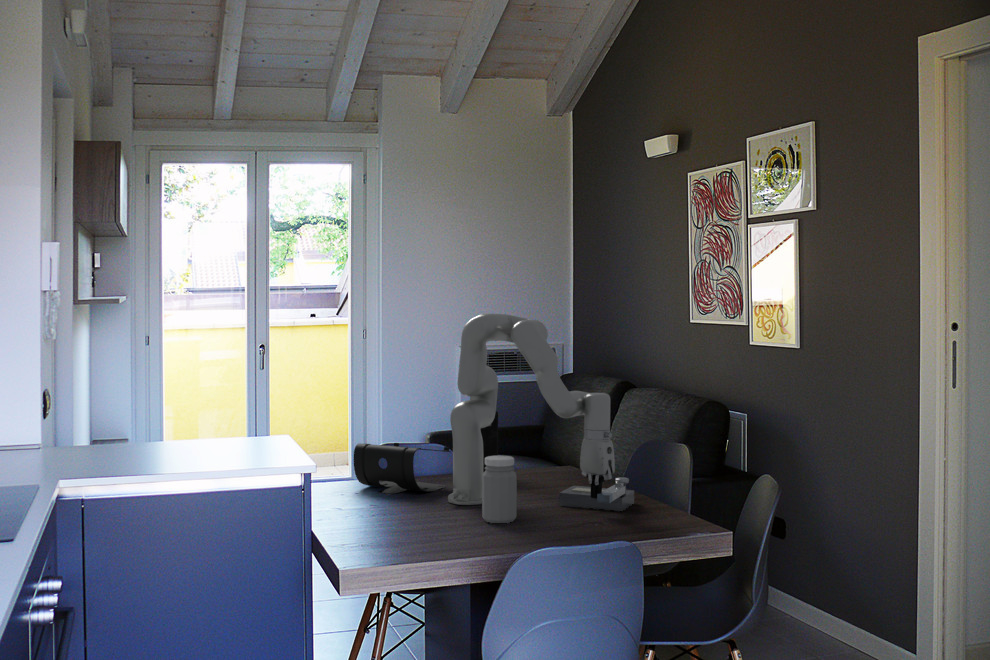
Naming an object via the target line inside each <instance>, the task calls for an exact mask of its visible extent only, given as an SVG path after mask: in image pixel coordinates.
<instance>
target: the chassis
mask: <svg viewBox="0 0 990 660" xmlns="http://www.w3.org/2000/svg"><path fill="white" fill-rule="evenodd" d="M623 486H625V494H623V495H622V496H620V497H618V498H617V499H615V500H614V501H612V502H611V503H601V502H597V498H596V499H595V498H591V486H583V485H582V486H581V485H572V486H570V487H567V488H566V489H563V490H562V491H560V492H559V493H558V506H559V507H569V508H578V507H582V508H581V509H589V508H593V509H592V510H599V509H604V510H603V511H610V510H614V511H613V512H620V511H622V512H623V510H624V511H626V510H627V509H628V508H629V506H630V507H632V506H633V505H634V504H635V490H633V489H632V490H631V489H630V490H629V489H627V483H626V484H623ZM608 488H609V487H607V488H606V487H602V491H604V490H606V489H608ZM632 504H633V505H632ZM626 508H627V509H626Z"/></svg>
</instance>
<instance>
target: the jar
mask: <svg viewBox="0 0 990 660" xmlns="http://www.w3.org/2000/svg"><path fill="white" fill-rule="evenodd" d="M485 465H486V467H485V469H486V470H485V471H484V473H483V474H482V504H481V505H482V506H481V515H482V516H481V517H482V518H483V520H484V521H485V522H486V523H488V522H490V523H489V524H492V523H507V524H511V523H510V522H512V523H513V522H514V521H515V520H516V519H517V512H518V511H517V507H518V506H517V501H518V499H517V497H518V495H517V492H518V490H517V485H518V484H517V481H518V480H517V479H518V478H517V476H518V475H517V473H516V472H515V467H514V465H515V457H513V456H511V455H499V454H498V456H488V457H486V458H485Z"/></svg>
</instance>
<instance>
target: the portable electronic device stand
mask: <svg viewBox="0 0 990 660" xmlns="http://www.w3.org/2000/svg"><path fill="white" fill-rule="evenodd" d="M418 450H420V451H421V450H422V451H433V452H444V453H452V451H450V447H449V446H444V447H443V449H441V450H439V449H432V448H431V449H430V448H429V449H428V448H421V447H408V446H400V443H399V442H394V443H393V445H384V444H382V445H380V444H372V443H361V442H360V443H357V444H356V445H355V447H354V449H353V471H354V475H355V477H356V479H357V480H358V482H359V483H360V484H362V485H364V486H368V487H378V488H384V489H381V490H378V491H377V493H378V494H385V495H397V494H401V493H405V492H407V491H418V492H427V493H432V491H434V492H436V491H435V490H437V491H439V490H438V489H440V490H442V489H441V488H443V489H445V488H447V486H446V485H444V484H439V483H430V482H422V481H416V478H415V472H414V458H415V455H416V454H415V453H416V452H417V451H418ZM381 459H385V461H386V463H387V464H386V467H385V468H383V467H381V466H380V465H379V461H380V460H381ZM380 481H381V482H380ZM444 487H445V488H444Z"/></svg>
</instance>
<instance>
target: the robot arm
mask: <svg viewBox="0 0 990 660" xmlns="http://www.w3.org/2000/svg"><path fill="white" fill-rule="evenodd" d="M548 334H549V332H548V329H547V327H546V325H545V324H544V323H543V322H542V321H539V319H537V320H536V319H531V318H527V317H522V316H515V315H511V314H506V313H483V314H479V315H477V316H474V317H472V318H471V319H469V320H468V321H467V322H466V323H465V325H464V327H463V329H462V333H461V339H460V354H459V355H460V356H459V364H458V373H457V389H458V392H460V394H462V395H463V396H465V397H469V399H467V400H462V401H461V402H458V403H456V405H455V406H454V407H453V408H452V409H451V413H450V419H449V420H450V422H449V423H450V428H451V433H452V493H450V494H448V496H447V502H448V503H450V504H452V505H453V504H454V505H461V506H476V505H482V474H483V439H482V435H481V430H480V429H481V428H485V427H487V426H489V425H490V424H491V423H492V422H493V420H494V417H495V413H496V411H497V402H498V401H497V399H498V394H499V393H498V390H499V379H498V376H497V373H496V371H495V370H494V369H493V368H492V367H490V366H488V365H487V363H488V348H487V343H488V342H493V341H494V342H497V341H502V342H509V343H513V344H514V345H515V347H516V348H517V349H518V351H519V353H520V354H521V355H522V357H523V358H524V360H525V361H526V362H527V363H528V366H529V367H530V369H531V370H532V371H533V373H534V375H535V380H536V383H537V386H538V388H539V392H540V394H541V395H542V396H543V398H544V399H545V401H546V403H547V404H548V405H549V407H550V409H551V410H552V411H553V412H554V413H555V414H556V416H559V418H562V419H570V418H575V417H579V416H584V417H583V418H584V422H583V423H584V424H583V427H584V428H583V439H582V443H581V448H580V456H579V457H580V458H579V460H580V461H579V465H580V467H579V468H580V471H581V476H584V477H585V478H587V480H588V483H589V484H590V487H591V498H595V499H596V498H597V494H598V493H600V492H602V488H603V485H604V483H605V482H606V481H608V480H612V479H613V477H612V475H613V474H614V473H615V471H616V470H615V468H616V467H615V466H616V465H615V464H616V460H615V448H614V445H613V444H614V443H613V440H611V438H612V437H613V433H611V396H610V394H608V393H605V392H586V391H581V390H571V391H569V390H568V388H567V387H566V385H565V384H564V382H563V381H562V378H561V377H560V374H559V371H558V365H559V357H558V355H557V354H556V352H555V351H554V349H553V347H552V346H550V344H549V342H548V341H547V339H548V336H549V335H548Z"/></svg>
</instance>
